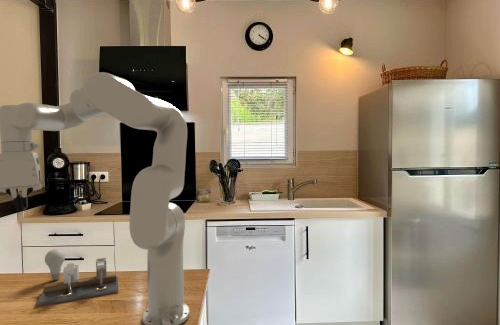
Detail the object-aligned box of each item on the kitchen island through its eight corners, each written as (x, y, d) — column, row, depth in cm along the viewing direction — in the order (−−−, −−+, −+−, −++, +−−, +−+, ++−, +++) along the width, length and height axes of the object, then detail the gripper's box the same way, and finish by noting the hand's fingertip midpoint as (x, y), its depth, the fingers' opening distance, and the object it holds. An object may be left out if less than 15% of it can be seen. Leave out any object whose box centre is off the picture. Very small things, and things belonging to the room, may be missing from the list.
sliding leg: (76, 290, 98) (75, 269, 98) (62, 293, 97) (61, 271, 96) (79, 281, 105) (78, 261, 105) (65, 283, 104) (64, 263, 103)
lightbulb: (54, 275, 114) (52, 246, 113) (69, 276, 113) (68, 246, 113) (41, 283, 108) (39, 252, 107) (57, 284, 107) (56, 252, 106)
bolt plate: (118, 292, 101) (118, 288, 101) (37, 306, 92) (37, 302, 92) (117, 279, 110) (117, 276, 110) (44, 292, 101) (44, 287, 101)
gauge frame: (116, 285, 103) (115, 263, 103) (41, 298, 95) (40, 274, 94) (116, 277, 110) (115, 256, 109) (45, 288, 101) (44, 265, 101)
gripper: (50, 147, 97) (53, 206, 98) (-10, 148, 92) (-5, 210, 93) (44, 147, 90) (48, 210, 91) (-20, 149, 85) (-16, 215, 86)
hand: (21, 210), depth 92 cm, fingers closed
